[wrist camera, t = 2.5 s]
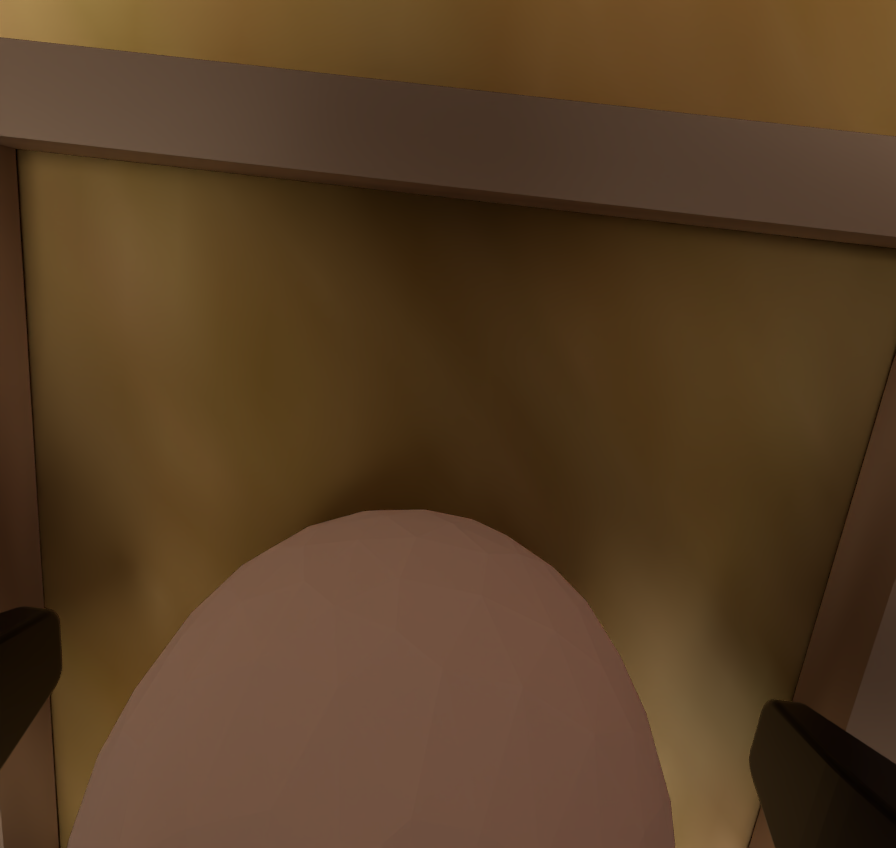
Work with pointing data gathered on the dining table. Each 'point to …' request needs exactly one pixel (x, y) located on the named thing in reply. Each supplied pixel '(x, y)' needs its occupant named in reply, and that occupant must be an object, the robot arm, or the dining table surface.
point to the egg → (383, 706)
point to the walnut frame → (462, 177)
